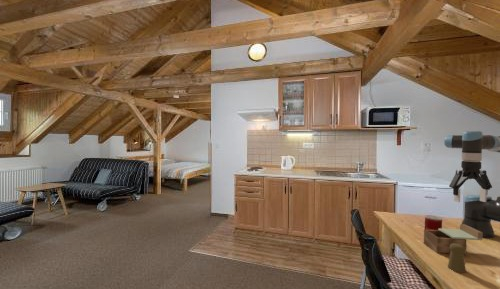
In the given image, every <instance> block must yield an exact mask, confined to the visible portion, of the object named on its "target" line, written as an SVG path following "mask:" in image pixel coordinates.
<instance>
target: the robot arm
mask: <svg viewBox="0 0 500 289" xmlns="http://www.w3.org/2000/svg"><path fill="white" fill-rule="evenodd" d="M443 141H444V142H443V143H444V146H445V147H446V148H448V149H449V148H450V149H461V160H462V161H461V168H462V170H460V169H456V170H455V174H454V176H453V177H452V179H451V181H450V183H449V188H451V189H453V190H452V192H453V193H452V194H453V201H454V202H458V203H461V189H460V188H461V187H462V185H464V184H465V182H467V181H468V180H472V179H473V180H475V182H476V183H477V184H478V185H479V186H480V187H481V188H479V194H468V195H466V196H465V197H464V198H465V199H464V214H463V215H464V217H463V220H462V222H461V224H465V225H467V226H470V227H472V228H474V229H476V230H478V231H480V232H482V233H483V238H487V239H488V238H489V239H490V238H494V237H495V231H494V228H493V225H492V223H491V222H492V221H495V222H498V223H500V195H498V196H497V198H496V199H493V197H492V196H491V195H488V190H491V189H492V188H493V185H492V183H491V181H490V179H489V177H488V175H487V174H488V173H487V170H485V169H482V158H483V157H482V154H483V150H485V151H486V150H487V151H489V152H494V153H500V136H499V135H498V136H495V135H493V134H486V135H485V134H483V132H482V131H480V130H479V131H477V130H476V131H475V130H473V131H463V133H462V134H461V135H460V134H459V135H456V134H455V135H454V134H453V135H447V136H446V137H445V138H444V140H443ZM461 224H460V225H459V230H461Z"/></svg>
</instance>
